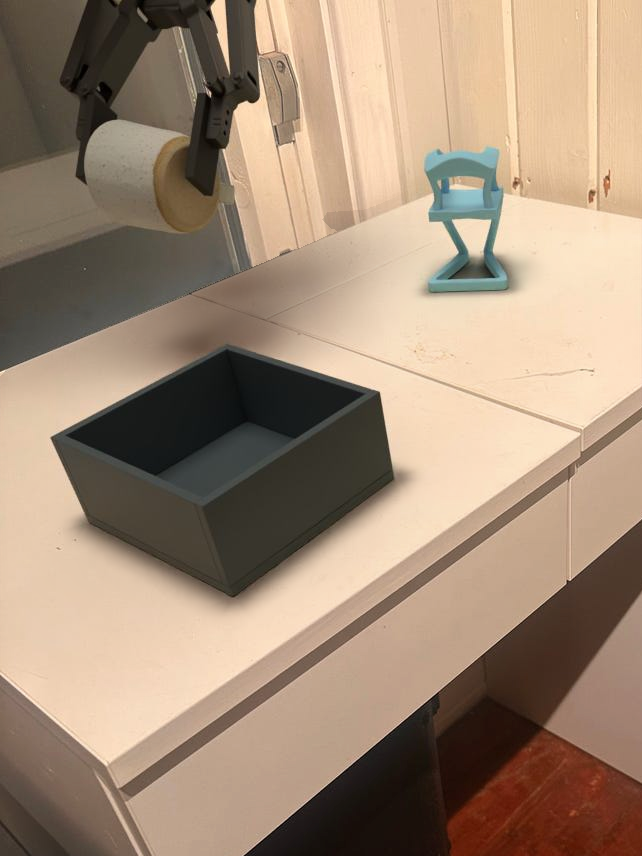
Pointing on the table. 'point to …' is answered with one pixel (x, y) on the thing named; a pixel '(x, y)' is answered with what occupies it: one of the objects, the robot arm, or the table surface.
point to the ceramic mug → (148, 179)
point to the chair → (466, 213)
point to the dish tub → (228, 463)
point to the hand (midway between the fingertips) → (143, 186)
